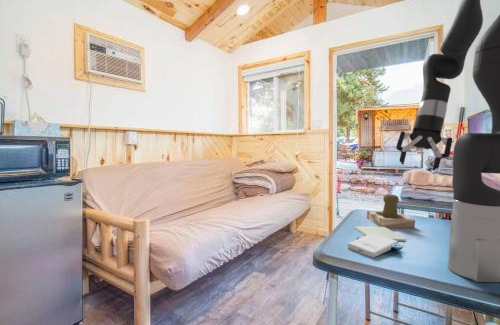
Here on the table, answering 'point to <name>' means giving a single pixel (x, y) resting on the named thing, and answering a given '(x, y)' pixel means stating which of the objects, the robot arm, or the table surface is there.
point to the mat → (380, 232)
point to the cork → (390, 206)
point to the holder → (391, 220)
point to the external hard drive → (372, 245)
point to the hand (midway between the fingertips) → (417, 167)
